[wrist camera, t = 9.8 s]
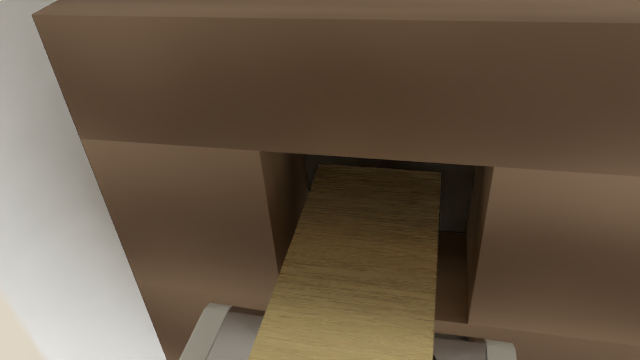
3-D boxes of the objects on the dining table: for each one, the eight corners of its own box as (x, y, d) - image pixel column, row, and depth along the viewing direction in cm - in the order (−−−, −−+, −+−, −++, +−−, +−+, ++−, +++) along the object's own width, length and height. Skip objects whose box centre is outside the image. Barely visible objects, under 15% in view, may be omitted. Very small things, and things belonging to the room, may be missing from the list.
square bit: (320, 163, 13) (196, 500, 7) (440, 172, 13) (423, 549, 6) (326, 249, 15) (232, 580, 9) (432, 260, 14) (412, 623, 8)
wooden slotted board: (118, -33, 14) (31, 14, 11) (736, -37, 11) (830, 26, 8) (230, 374, 24) (202, 449, 21) (554, 425, 21) (568, 520, 19)
